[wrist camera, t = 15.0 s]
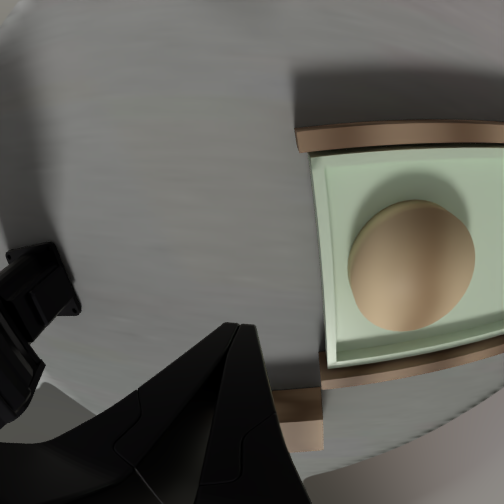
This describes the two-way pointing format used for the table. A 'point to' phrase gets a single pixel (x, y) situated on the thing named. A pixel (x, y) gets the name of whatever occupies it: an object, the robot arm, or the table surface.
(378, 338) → the tray
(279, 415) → the block
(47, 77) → the table surface
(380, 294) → the tan round disc
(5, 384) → the robot arm
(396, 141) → the brown wooden frame
